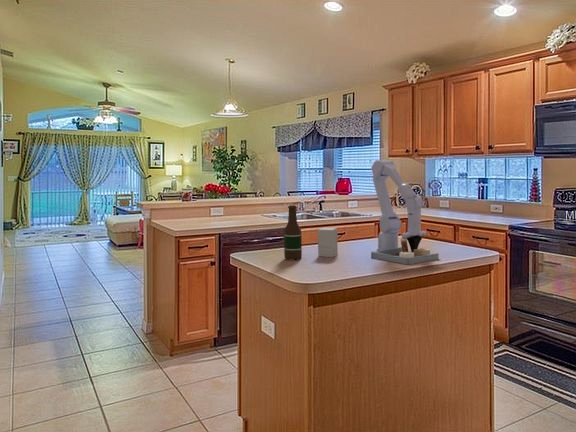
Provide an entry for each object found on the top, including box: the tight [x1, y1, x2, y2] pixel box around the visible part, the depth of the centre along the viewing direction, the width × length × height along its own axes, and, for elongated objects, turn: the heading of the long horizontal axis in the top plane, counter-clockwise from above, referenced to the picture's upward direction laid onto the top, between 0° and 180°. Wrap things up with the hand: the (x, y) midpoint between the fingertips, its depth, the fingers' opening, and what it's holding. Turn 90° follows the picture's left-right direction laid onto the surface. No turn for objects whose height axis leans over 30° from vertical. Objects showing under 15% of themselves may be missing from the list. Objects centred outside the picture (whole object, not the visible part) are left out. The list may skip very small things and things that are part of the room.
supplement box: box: [317, 227, 339, 258], centre depth 216 cm, size 7×7×13 cm
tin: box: [400, 237, 409, 252], centre depth 209 cm, size 15×3×8 cm, turn 167°
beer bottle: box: [283, 204, 303, 260], centre depth 210 cm, size 8×8×24 cm
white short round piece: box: [399, 251, 414, 258], centre depth 199 cm, size 6×6×4 cm
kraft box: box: [413, 247, 431, 257], centre depth 207 cm, size 5×5×4 cm
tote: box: [370, 246, 440, 265], centre depth 208 cm, size 21×20×2 cm
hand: (413, 252), depth 217 cm, fingers closed
